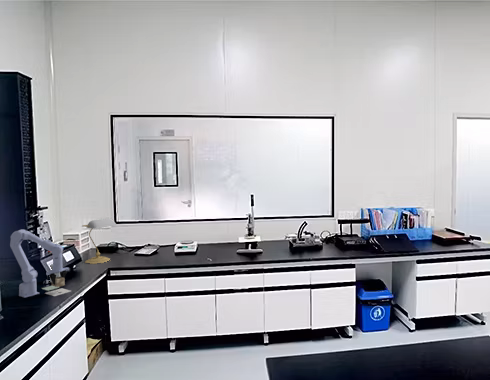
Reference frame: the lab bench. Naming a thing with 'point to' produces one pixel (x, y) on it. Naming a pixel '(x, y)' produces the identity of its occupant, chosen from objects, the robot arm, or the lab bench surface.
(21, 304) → the lab bench surface
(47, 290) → the sage pad
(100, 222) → the desk lamp
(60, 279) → the beech block
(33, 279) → the robot arm
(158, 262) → the lab bench surface
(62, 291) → the card
